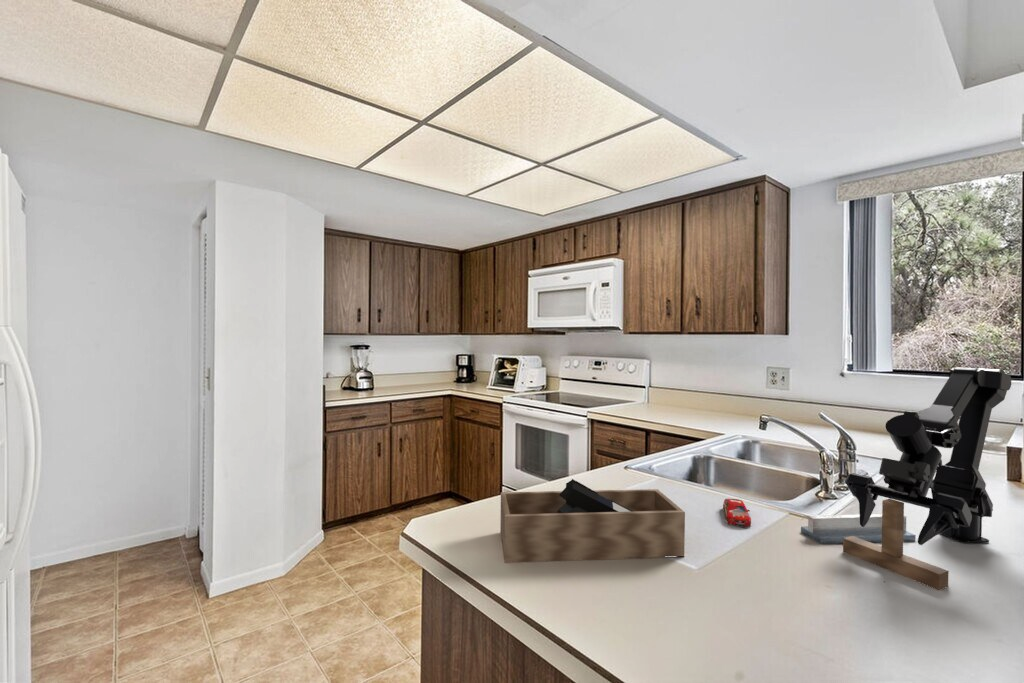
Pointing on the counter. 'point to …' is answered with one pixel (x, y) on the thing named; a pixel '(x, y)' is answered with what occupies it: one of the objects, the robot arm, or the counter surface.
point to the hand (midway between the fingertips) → (889, 534)
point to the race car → (736, 513)
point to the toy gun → (586, 500)
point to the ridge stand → (847, 528)
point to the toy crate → (590, 527)
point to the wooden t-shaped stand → (895, 550)
